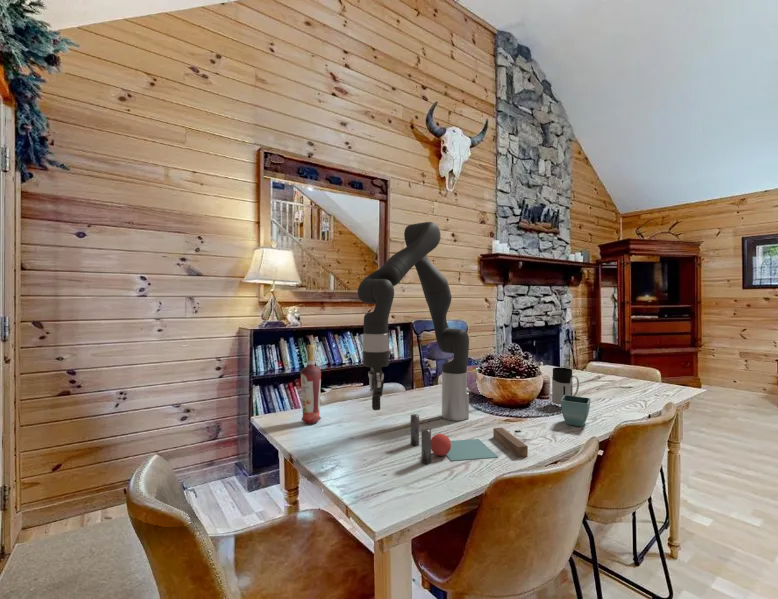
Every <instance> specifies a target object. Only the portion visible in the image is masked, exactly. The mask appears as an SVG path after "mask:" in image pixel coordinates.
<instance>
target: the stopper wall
mask: <svg viewBox="0 0 778 599" xmlns="http://www.w3.org/2000/svg"><path fill="white" fill-rule="evenodd" d="M492 433H493V434H492V435H493V436H492V437H493V439H495V440H496V441H497V442H498V443H500V444H501V445H502V446H504V447H505V448H506V449H507V450H508V451H509V452H511V454H513V455H515V457H517V458H528V450H529V449H528V448H529V446H528V445H526V443H524V442H523V441H522V440H520V439H518V438H517V437H516V436H515V435H513V434H512V433H510V432H509V431H508V430H507V429H505V428H504V427H493V432H492Z"/></svg>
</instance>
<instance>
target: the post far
mask: <svg viewBox="0 0 778 599" xmlns="http://www.w3.org/2000/svg"><path fill="white" fill-rule="evenodd" d="M419 445H420V415H419V414H418V413H416V414H415V413H413V414H410V446H413V447H418V446H419Z"/></svg>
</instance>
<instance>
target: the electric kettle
mask: <svg viewBox="0 0 778 599" xmlns="http://www.w3.org/2000/svg"><path fill="white" fill-rule="evenodd" d="M573 378H575V379H576V383H577V384H576V390H575V393H574V394H573V392H574V391H573V390H574V389H573V387H574V385H573V383H574V382H573ZM551 380H552V381H551V383H552V385H551V388H552V389H551V390H552V392H551V402H553V403H556V404H561V399H562V398H563V396H564V395H570V396H577V394H578V393H579V392H578V391H579V389H580V380H579V378H578V376H577V375H573V369H572V368H568V367H558V366H557V367H553V368H552V377H551Z"/></svg>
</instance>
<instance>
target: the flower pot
mask: <svg viewBox="0 0 778 599" xmlns="http://www.w3.org/2000/svg"><path fill="white" fill-rule="evenodd" d="M561 407H562V408H561ZM561 407H560V408H561V414H562V418H563V420H564V422H565V423H566V424H567V425H571V426H575V427H584V425H585V424H586V421H587V418H588V416H589V412H590V408H591V398H590V397H583V396H577V395H576V396H570V395H564V396H563V398H562V399H561Z"/></svg>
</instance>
